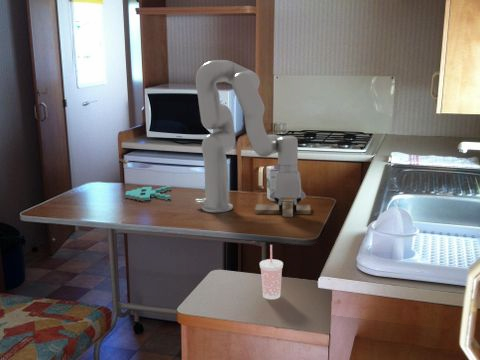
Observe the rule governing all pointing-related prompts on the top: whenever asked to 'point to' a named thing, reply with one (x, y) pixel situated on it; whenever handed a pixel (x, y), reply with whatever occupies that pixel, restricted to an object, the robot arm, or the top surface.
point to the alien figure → (148, 193)
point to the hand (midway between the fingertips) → (287, 213)
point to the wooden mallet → (287, 208)
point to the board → (275, 209)
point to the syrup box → (271, 181)
